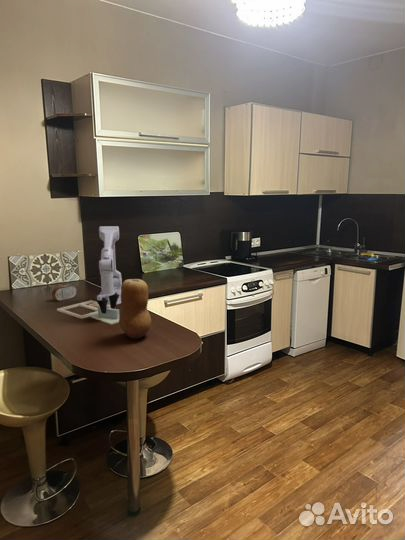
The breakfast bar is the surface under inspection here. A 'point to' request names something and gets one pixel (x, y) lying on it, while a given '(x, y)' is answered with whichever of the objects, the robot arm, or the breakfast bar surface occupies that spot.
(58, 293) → the tin
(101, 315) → the grey rectangular block
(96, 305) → the offcut upper
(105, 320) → the mat
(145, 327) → the butternut squash
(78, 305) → the rack
